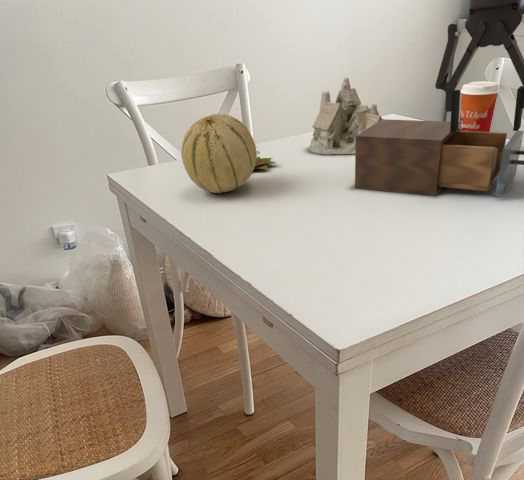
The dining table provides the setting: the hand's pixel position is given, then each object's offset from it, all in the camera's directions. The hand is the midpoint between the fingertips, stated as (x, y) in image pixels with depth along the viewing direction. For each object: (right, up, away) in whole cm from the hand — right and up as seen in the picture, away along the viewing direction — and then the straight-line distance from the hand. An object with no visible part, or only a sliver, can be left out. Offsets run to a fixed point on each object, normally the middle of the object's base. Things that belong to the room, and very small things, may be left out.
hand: (484, 129), depth 95 cm
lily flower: (-42, +3, +28) cm, 51 cm away
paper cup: (+7, +4, +23) cm, 24 cm away
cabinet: (-11, -5, +12) cm, 17 cm away
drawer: (+1, -8, +5) cm, 9 cm away
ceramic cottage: (-19, +10, +35) cm, 41 cm away
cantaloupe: (-47, -6, +16) cm, 50 cm away
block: (+1, -7, +4) cm, 8 cm away
